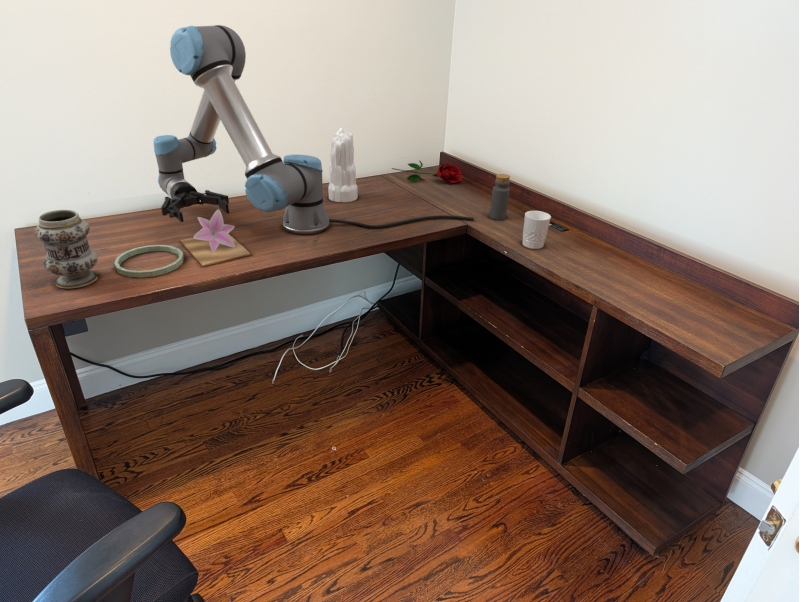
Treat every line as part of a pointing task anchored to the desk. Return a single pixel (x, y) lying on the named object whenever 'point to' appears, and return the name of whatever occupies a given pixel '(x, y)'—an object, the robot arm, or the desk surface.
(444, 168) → the flower
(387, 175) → the desk surface
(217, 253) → the tan wooden board
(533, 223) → the white cup
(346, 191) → the white crystal cluster
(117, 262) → the pale green bangle
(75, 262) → the apothecary jar
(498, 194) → the bottle
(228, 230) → the lily
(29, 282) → the desk surface
